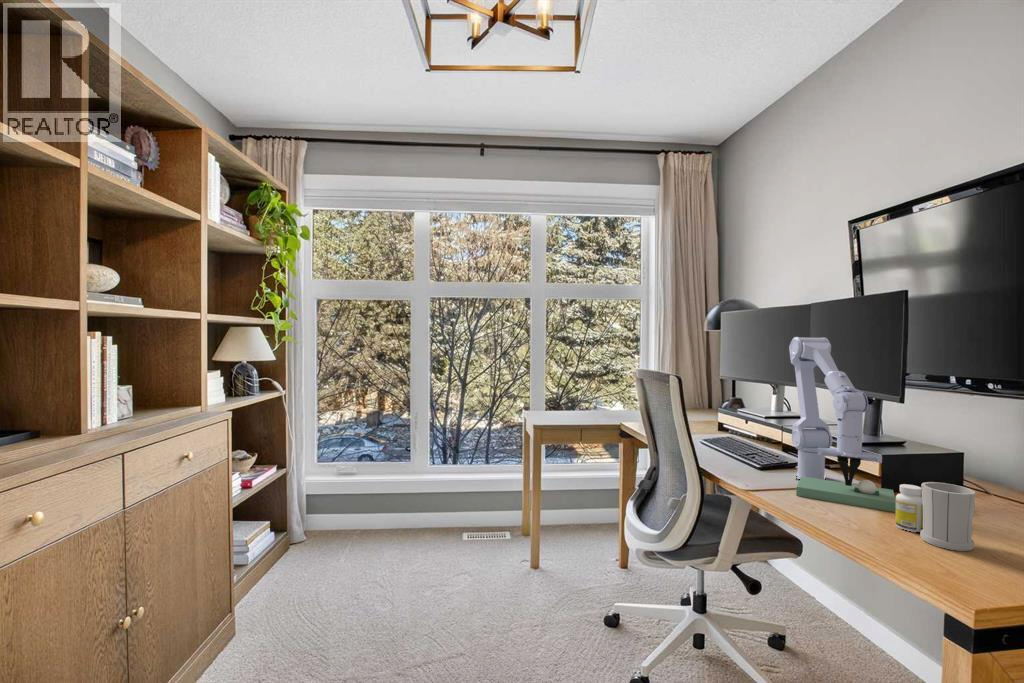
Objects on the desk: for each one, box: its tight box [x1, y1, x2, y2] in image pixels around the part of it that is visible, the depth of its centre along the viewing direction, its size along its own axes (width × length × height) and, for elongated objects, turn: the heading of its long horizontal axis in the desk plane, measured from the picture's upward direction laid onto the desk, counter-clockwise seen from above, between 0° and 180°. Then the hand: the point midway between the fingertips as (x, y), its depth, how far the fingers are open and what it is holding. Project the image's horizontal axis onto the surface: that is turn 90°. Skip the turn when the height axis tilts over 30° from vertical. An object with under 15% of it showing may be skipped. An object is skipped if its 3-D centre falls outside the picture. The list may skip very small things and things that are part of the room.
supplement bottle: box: [895, 483, 923, 533], centre depth 117 cm, size 5×5×10 cm
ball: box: [857, 479, 877, 495], centre depth 136 cm, size 4×4×4 cm
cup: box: [919, 481, 977, 552], centre depth 109 cm, size 10×9×12 cm
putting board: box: [795, 476, 896, 513], centre depth 139 cm, size 13×22×2 cm, turn 56°
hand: (848, 485), depth 139 cm, fingers closed
